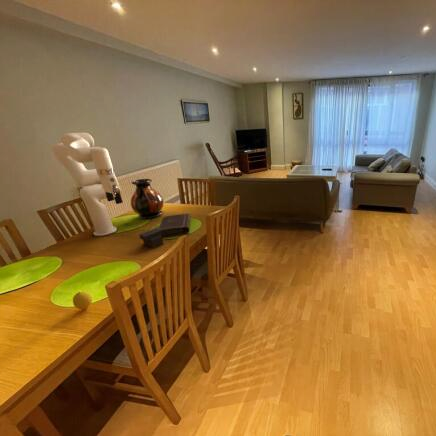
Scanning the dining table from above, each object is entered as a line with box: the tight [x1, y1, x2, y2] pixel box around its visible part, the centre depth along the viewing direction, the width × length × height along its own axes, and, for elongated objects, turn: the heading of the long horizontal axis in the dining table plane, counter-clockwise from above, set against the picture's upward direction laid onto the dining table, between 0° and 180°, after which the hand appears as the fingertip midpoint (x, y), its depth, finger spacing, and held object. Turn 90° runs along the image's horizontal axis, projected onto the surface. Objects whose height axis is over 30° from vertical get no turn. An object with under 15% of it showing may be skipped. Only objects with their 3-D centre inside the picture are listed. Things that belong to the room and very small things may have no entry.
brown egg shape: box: [72, 290, 93, 310], centre depth 93 cm, size 6×6×8 cm
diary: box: [157, 213, 191, 238], centre depth 164 cm, size 19×25×5 cm
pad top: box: [138, 227, 162, 241], centre depth 141 cm, size 10×6×3 cm, turn 148°
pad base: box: [142, 239, 164, 249], centre depth 143 cm, size 10×6×3 cm, turn 58°
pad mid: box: [144, 235, 163, 244], centre depth 142 cm, size 10×6×3 cm, turn 58°
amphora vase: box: [130, 178, 165, 220], centre depth 181 cm, size 22×22×28 cm
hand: (115, 201), depth 135 cm, fingers open, 9 cm apart
